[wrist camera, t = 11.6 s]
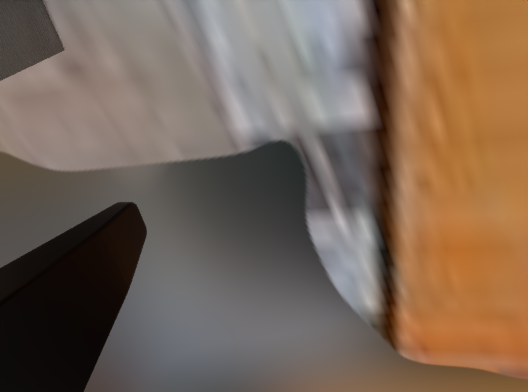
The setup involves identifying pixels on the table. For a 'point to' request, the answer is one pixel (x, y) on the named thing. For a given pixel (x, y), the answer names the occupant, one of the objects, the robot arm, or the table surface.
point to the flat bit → (25, 35)
